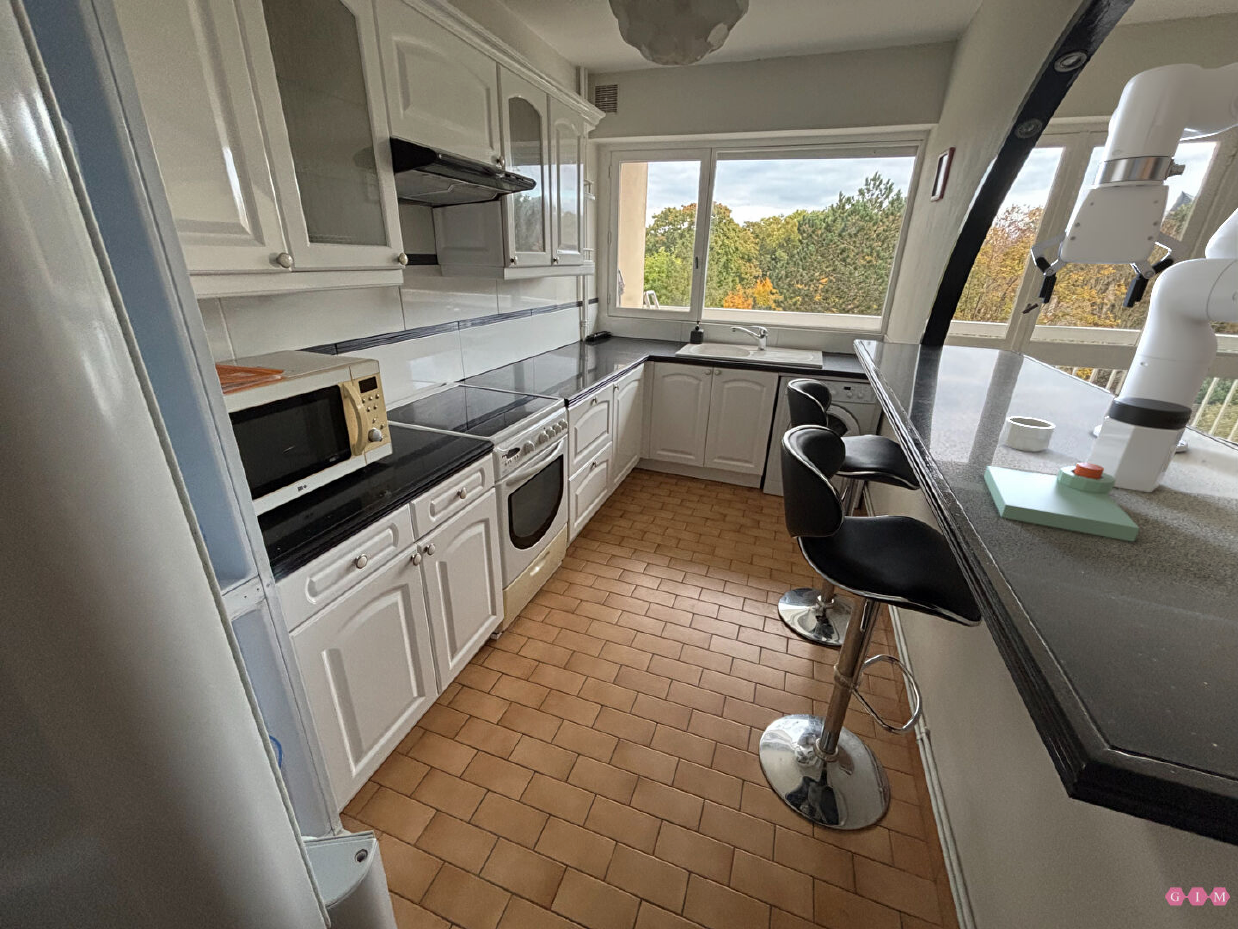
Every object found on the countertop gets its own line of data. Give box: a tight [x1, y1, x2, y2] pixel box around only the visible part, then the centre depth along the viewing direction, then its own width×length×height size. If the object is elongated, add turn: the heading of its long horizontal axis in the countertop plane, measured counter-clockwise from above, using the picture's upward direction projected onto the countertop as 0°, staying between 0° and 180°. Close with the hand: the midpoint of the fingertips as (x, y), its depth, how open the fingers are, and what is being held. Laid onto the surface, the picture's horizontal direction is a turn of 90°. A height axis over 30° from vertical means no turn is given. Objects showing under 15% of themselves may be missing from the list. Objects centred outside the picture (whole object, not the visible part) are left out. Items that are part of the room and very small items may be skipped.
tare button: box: [1074, 462, 1104, 479], centre depth 70 cm, size 3×3×2 cm
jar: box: [1086, 397, 1193, 493], centre depth 75 cm, size 9×8×12 cm
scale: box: [983, 465, 1141, 543], centre depth 68 cm, size 16×14×4 cm
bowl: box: [999, 416, 1056, 453], centre depth 90 cm, size 7×7×4 cm
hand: (1084, 305), depth 77 cm, fingers open, 9 cm apart
